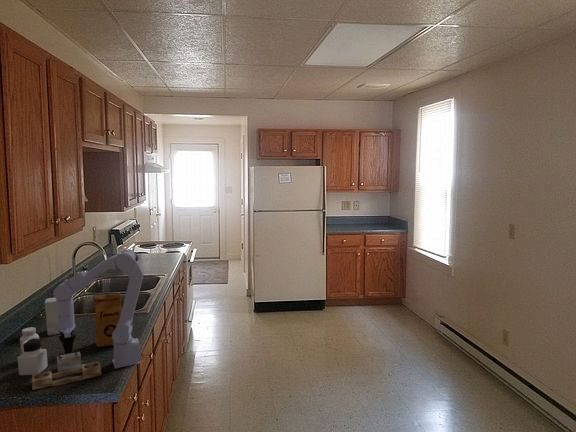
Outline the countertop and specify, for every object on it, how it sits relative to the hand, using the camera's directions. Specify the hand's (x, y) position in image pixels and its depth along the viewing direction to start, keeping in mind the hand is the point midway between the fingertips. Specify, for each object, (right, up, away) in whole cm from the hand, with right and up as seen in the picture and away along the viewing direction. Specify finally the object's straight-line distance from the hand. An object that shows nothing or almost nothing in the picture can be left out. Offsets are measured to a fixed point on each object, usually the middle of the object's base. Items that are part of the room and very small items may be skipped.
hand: (68, 349), depth 169 cm
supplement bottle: (-18, -7, +8) cm, 21 cm away
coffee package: (+7, -5, +24) cm, 25 cm away
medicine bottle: (-12, -8, -1) cm, 15 cm away
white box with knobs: (0, -7, +1) cm, 8 cm away
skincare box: (-25, -4, +38) cm, 46 cm away
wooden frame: (+4, -8, -8) cm, 12 cm away
